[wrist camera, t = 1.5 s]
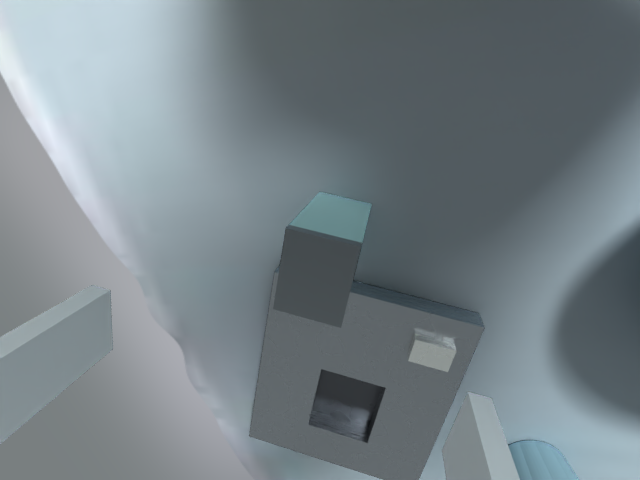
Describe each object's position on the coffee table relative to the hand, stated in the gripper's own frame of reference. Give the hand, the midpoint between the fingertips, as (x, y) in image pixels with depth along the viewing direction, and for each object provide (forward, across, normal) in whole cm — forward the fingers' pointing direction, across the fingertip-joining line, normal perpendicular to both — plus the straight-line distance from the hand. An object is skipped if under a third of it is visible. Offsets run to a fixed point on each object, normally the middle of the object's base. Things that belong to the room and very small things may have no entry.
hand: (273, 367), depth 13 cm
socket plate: (+16, +4, -13) cm, 21 cm away
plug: (+16, 0, 0) cm, 16 cm away
